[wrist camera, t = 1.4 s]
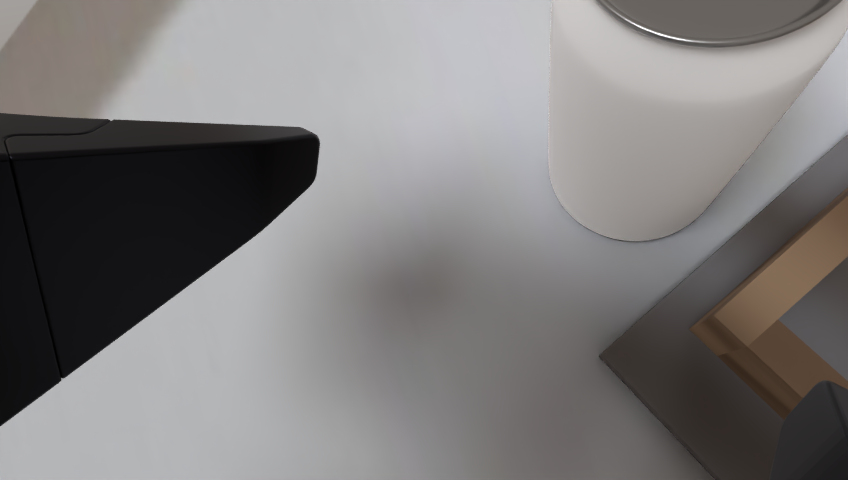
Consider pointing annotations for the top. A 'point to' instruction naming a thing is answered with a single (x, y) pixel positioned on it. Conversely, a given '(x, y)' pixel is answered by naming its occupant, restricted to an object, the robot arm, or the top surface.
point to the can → (671, 100)
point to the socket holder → (750, 328)
